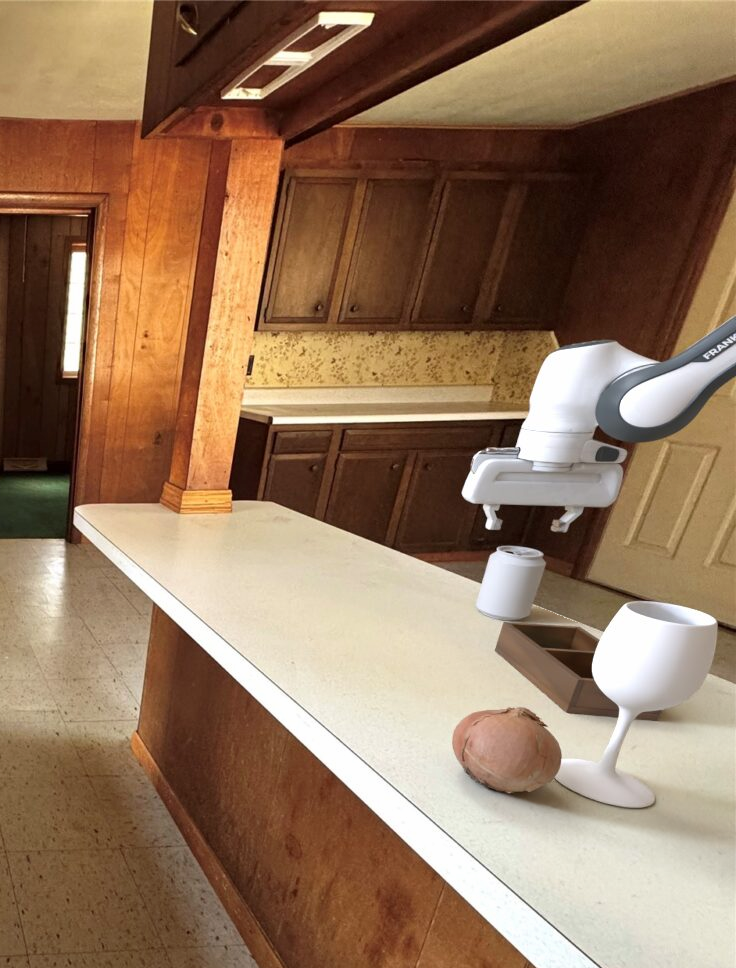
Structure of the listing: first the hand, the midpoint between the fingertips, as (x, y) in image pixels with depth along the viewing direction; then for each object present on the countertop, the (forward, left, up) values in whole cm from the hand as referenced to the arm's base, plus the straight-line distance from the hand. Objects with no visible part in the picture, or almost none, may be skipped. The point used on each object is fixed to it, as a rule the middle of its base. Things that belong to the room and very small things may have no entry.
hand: (524, 530), depth 112 cm
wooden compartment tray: (+3, +26, -16) cm, 30 cm away
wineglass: (+13, +52, -16) cm, 56 cm away
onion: (+24, +54, -16) cm, 61 cm away
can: (0, 0, -16) cm, 16 cm away
